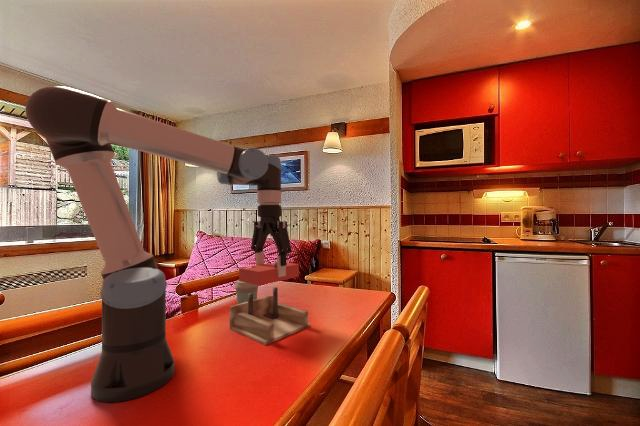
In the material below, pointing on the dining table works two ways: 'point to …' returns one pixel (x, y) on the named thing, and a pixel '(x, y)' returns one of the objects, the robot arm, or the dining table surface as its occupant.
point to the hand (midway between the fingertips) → (270, 274)
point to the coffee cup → (245, 291)
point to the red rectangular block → (266, 273)
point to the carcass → (267, 318)
